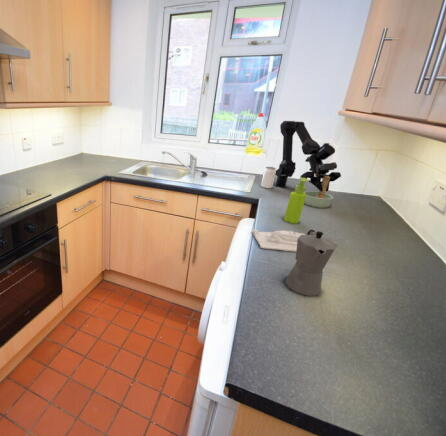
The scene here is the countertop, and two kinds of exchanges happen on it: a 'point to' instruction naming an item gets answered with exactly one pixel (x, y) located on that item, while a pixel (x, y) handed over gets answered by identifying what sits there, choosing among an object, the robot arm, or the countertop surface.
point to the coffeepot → (310, 263)
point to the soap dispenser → (296, 203)
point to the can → (268, 177)
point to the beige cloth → (277, 240)
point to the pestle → (324, 186)
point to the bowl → (317, 200)
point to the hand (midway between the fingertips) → (324, 191)
